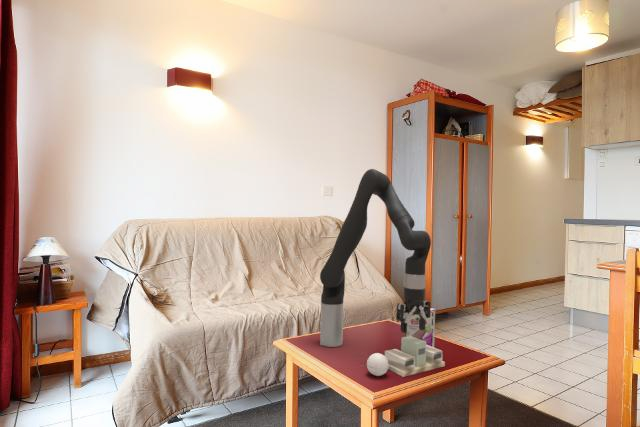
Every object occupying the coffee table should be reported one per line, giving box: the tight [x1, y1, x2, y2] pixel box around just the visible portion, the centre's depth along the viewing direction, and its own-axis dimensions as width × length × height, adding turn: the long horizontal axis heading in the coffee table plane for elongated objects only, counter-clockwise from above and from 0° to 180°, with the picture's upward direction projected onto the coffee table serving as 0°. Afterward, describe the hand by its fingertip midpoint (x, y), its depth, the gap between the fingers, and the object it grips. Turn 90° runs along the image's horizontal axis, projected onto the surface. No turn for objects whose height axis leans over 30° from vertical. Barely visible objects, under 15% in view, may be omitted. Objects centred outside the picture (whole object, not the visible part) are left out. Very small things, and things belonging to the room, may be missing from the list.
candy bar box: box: [404, 307, 436, 348], centre depth 169 cm, size 11×5×16 cm, turn 65°
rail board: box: [384, 345, 446, 378], centre depth 149 cm, size 20×11×6 cm, turn 121°
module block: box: [400, 336, 426, 367], centre depth 149 cm, size 4×8×8 cm, turn 31°
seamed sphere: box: [360, 352, 389, 377], centre depth 141 cm, size 10×7×7 cm
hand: (413, 331), depth 149 cm, fingers open, 8 cm apart
